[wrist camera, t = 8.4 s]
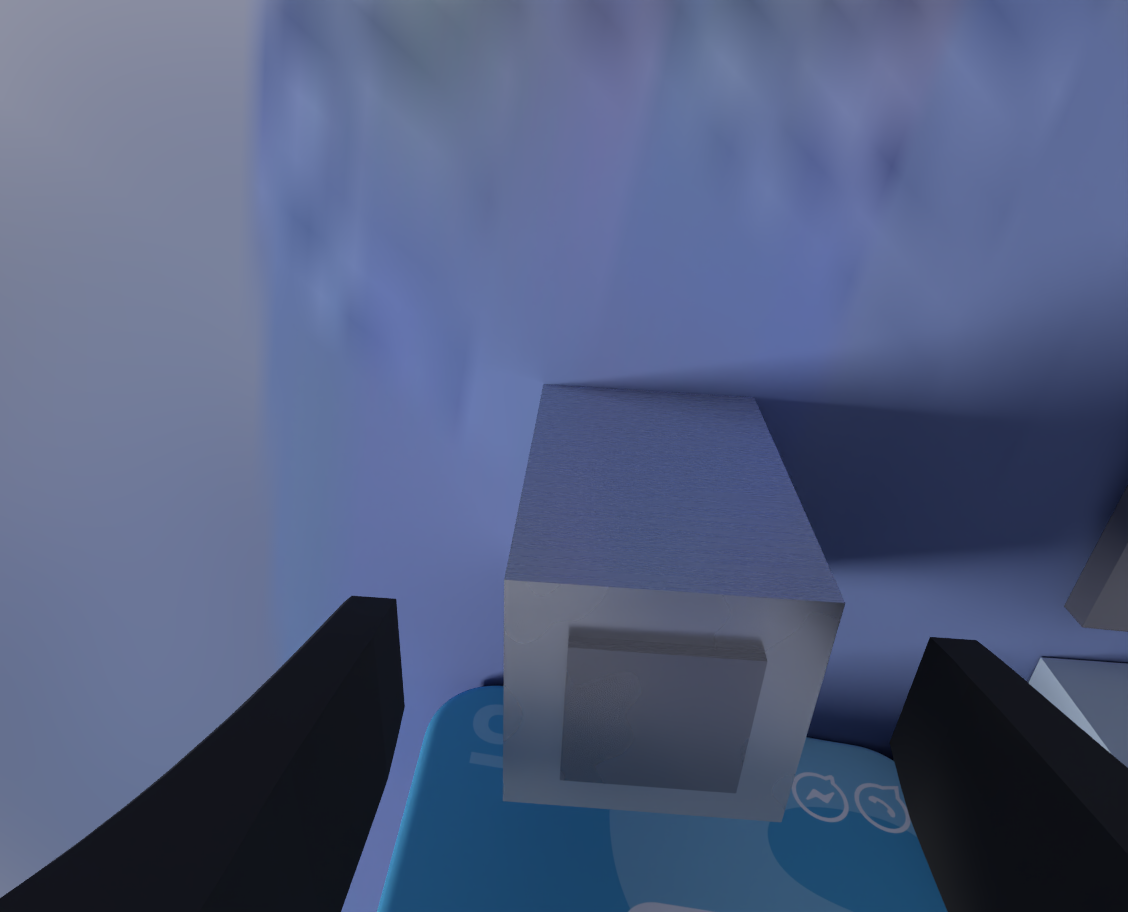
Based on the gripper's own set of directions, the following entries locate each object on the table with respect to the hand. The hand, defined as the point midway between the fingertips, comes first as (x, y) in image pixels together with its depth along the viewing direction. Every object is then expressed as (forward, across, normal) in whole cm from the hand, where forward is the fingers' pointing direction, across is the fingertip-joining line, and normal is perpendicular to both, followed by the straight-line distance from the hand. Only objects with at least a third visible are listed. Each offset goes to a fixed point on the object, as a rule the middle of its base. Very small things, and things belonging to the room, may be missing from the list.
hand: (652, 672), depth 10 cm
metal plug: (+5, 0, 0) cm, 5 cm away
